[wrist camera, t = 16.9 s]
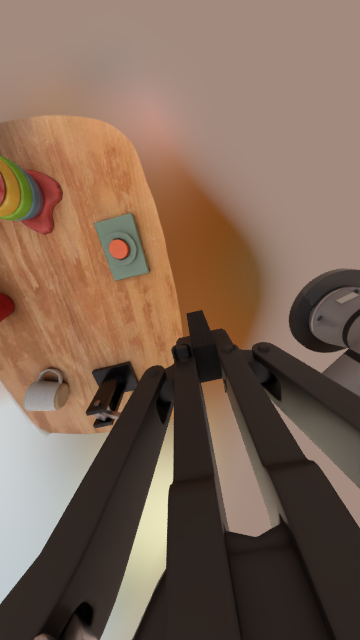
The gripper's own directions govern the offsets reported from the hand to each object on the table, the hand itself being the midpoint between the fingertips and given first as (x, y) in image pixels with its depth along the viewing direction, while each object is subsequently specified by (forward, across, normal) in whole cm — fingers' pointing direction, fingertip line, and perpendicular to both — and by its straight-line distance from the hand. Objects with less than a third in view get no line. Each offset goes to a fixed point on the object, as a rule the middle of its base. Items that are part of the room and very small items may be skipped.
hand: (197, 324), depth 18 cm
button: (+25, -12, +9) cm, 29 cm away
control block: (+28, -12, +9) cm, 32 cm away
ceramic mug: (+29, -44, -20) cm, 56 cm away
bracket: (+28, -26, -24) cm, 45 cm away
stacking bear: (+29, -26, +23) cm, 45 cm away
